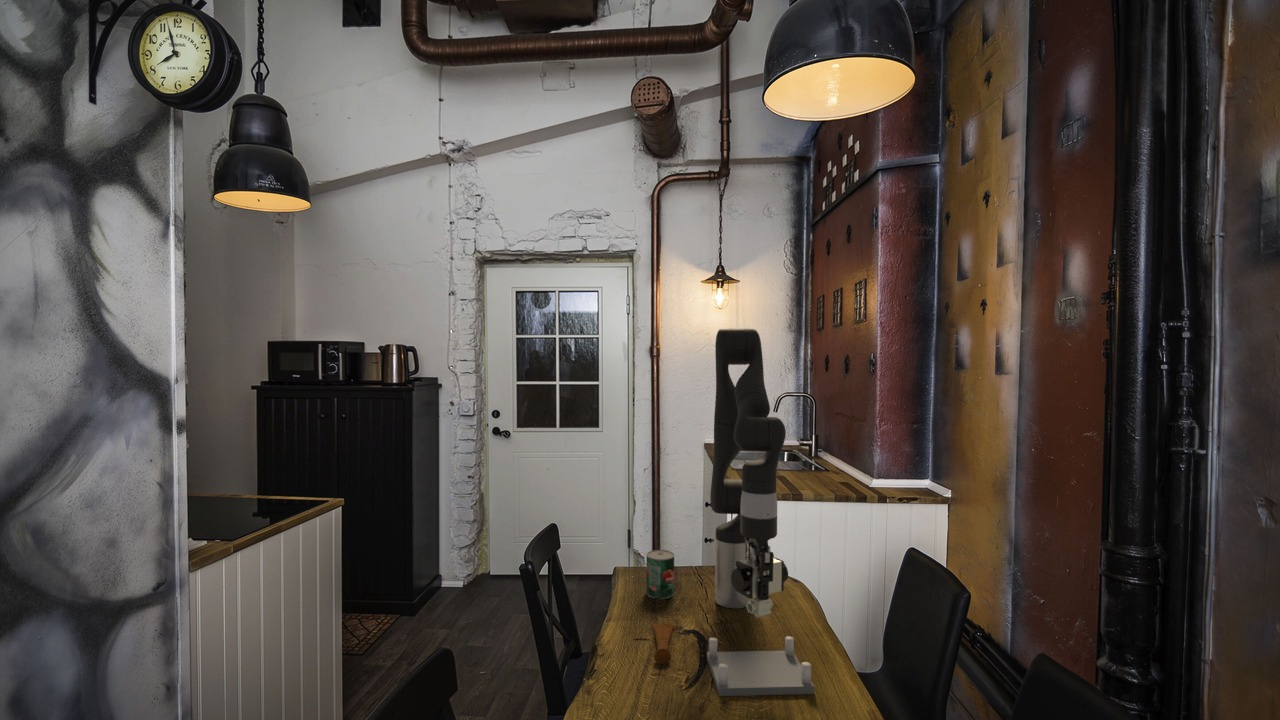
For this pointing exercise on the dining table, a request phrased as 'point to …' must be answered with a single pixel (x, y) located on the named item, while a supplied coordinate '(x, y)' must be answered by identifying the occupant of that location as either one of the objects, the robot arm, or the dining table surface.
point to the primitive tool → (663, 642)
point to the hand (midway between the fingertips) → (758, 591)
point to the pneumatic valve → (748, 584)
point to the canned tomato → (660, 574)
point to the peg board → (759, 671)
